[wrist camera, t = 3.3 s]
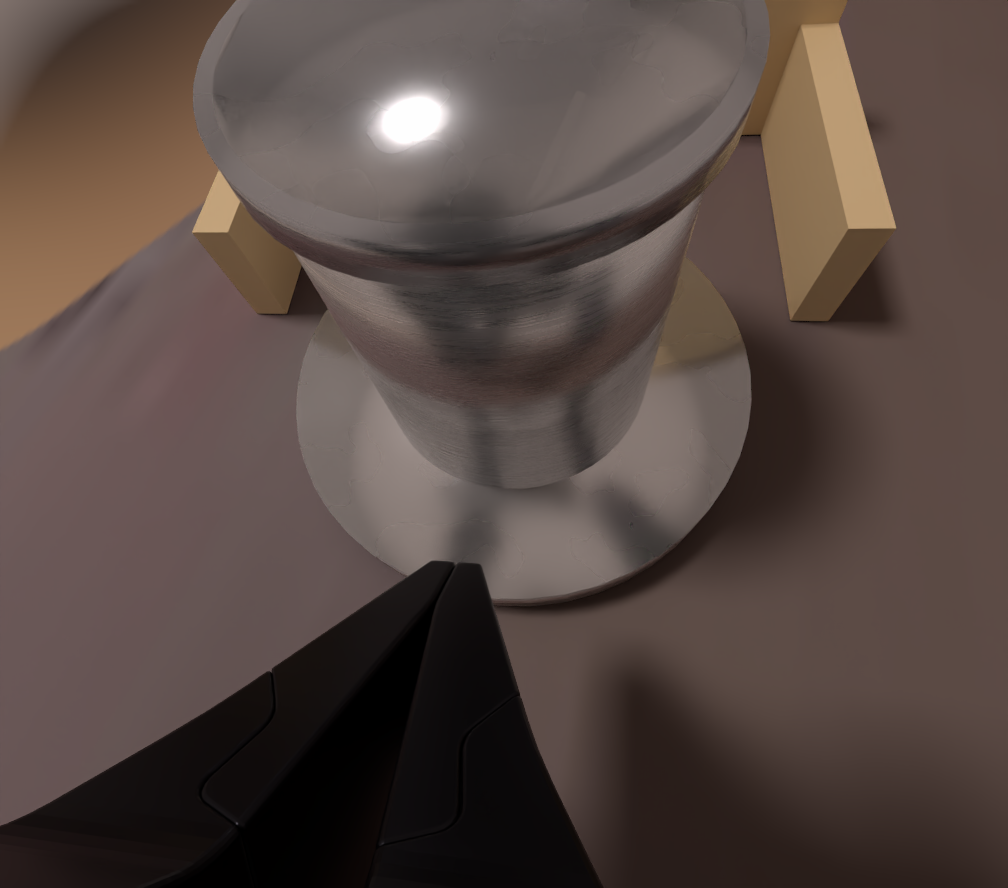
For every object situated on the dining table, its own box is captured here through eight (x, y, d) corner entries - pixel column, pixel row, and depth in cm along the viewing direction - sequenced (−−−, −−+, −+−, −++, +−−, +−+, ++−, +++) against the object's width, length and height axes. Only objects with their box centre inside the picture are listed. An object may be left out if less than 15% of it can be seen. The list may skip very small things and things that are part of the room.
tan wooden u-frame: (828, 321, 18) (945, 162, 13) (257, 313, 20) (148, 177, 15) (786, 107, 22) (859, -79, 17) (321, 122, 25) (254, -37, 19)
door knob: (758, 626, 14) (1205, 486, 4) (268, 588, 16) (-203, 424, 6) (718, 234, 20) (876, -212, 10) (359, 236, 22) (192, -146, 12)
